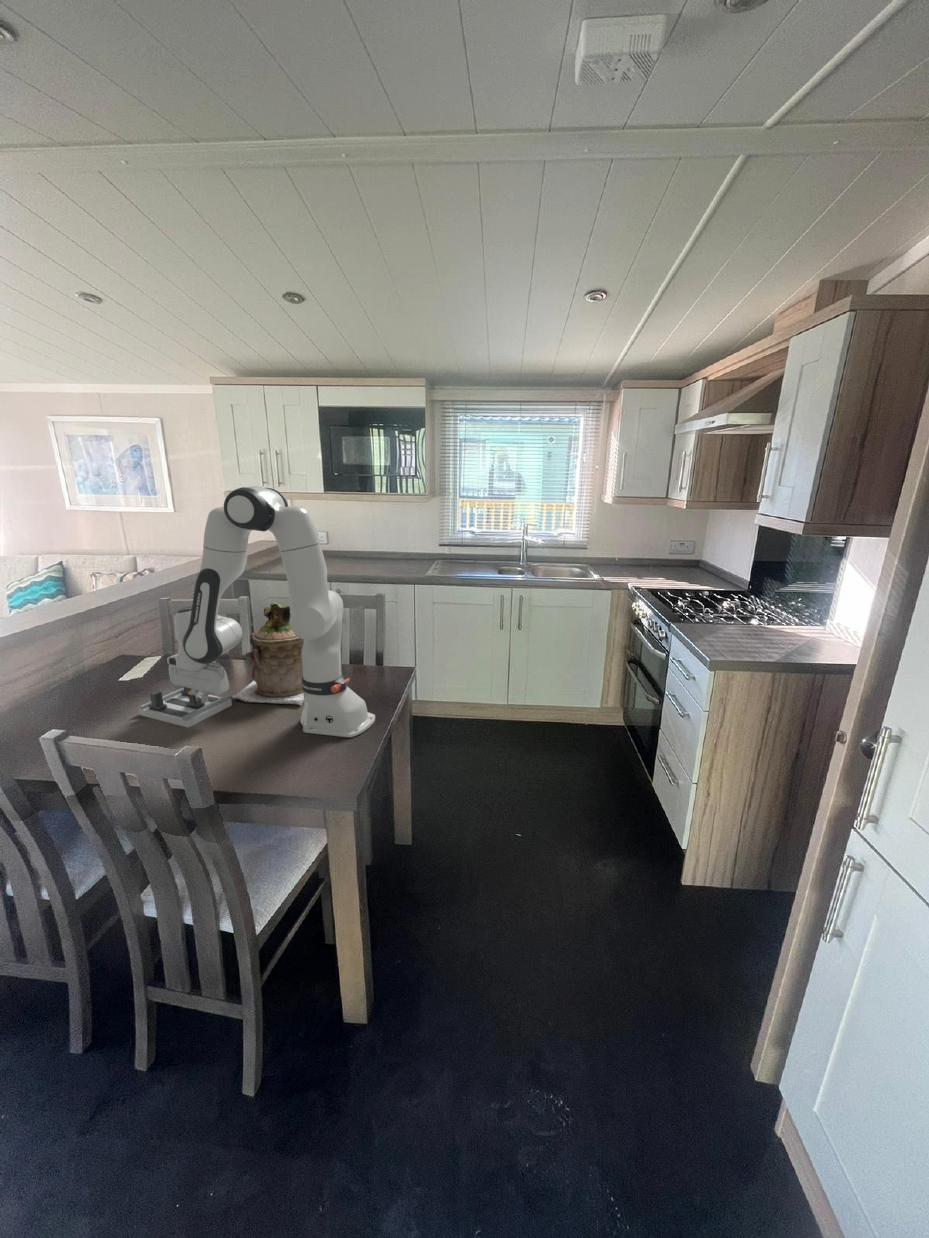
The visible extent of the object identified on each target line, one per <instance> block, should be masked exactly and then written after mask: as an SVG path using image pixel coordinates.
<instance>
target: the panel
mask: <svg viewBox="0 0 929 1238" xmlns="http://www.w3.org/2000/svg"><path fill="white" fill-rule="evenodd" d="M182 690H184V688H183V687H182V688H179V689H177V690H174V691H172V692H170V693H167V694H165V695H162V699H163V704H166V705H167V708H164V709H162V710H158V709H154V708H150V707H149V704H152V703H151V701H149V702H145V703H144V704H141V705H139V709H138V712H139V715H140V716H142V717H146V718H150V719H153V720H157V721H161V722H164V723H169V724H172V725H176V726H181V727H185V728H190V727H192V726H194V725H196V724H198V723H200V722H202V721H204V720H206V719H209V718H210V717H212V716H214V715H216V714H218V713H220V712H222V711H224V710H225V709H228V708H231V707H232V706H233V701H232V699H231V698H230V695H224V696H223V697H221V696H217V695H213V694H208V696H207V697H208V701H207V702H206V703H205V705H204V706H202V707H200V708H197V707H192V706H188V705H186V703H187V702H189V695H186V694H182V693H181V691H182Z"/></svg>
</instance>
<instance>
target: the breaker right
mask: <svg viewBox="0 0 929 1238" xmlns="http://www.w3.org/2000/svg"><path fill="white" fill-rule="evenodd" d="M182 688H184V690H182V691H181V693H182V694H186V695H188V691H191V690H192V689H191V688H187V687H182Z"/></svg>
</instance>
